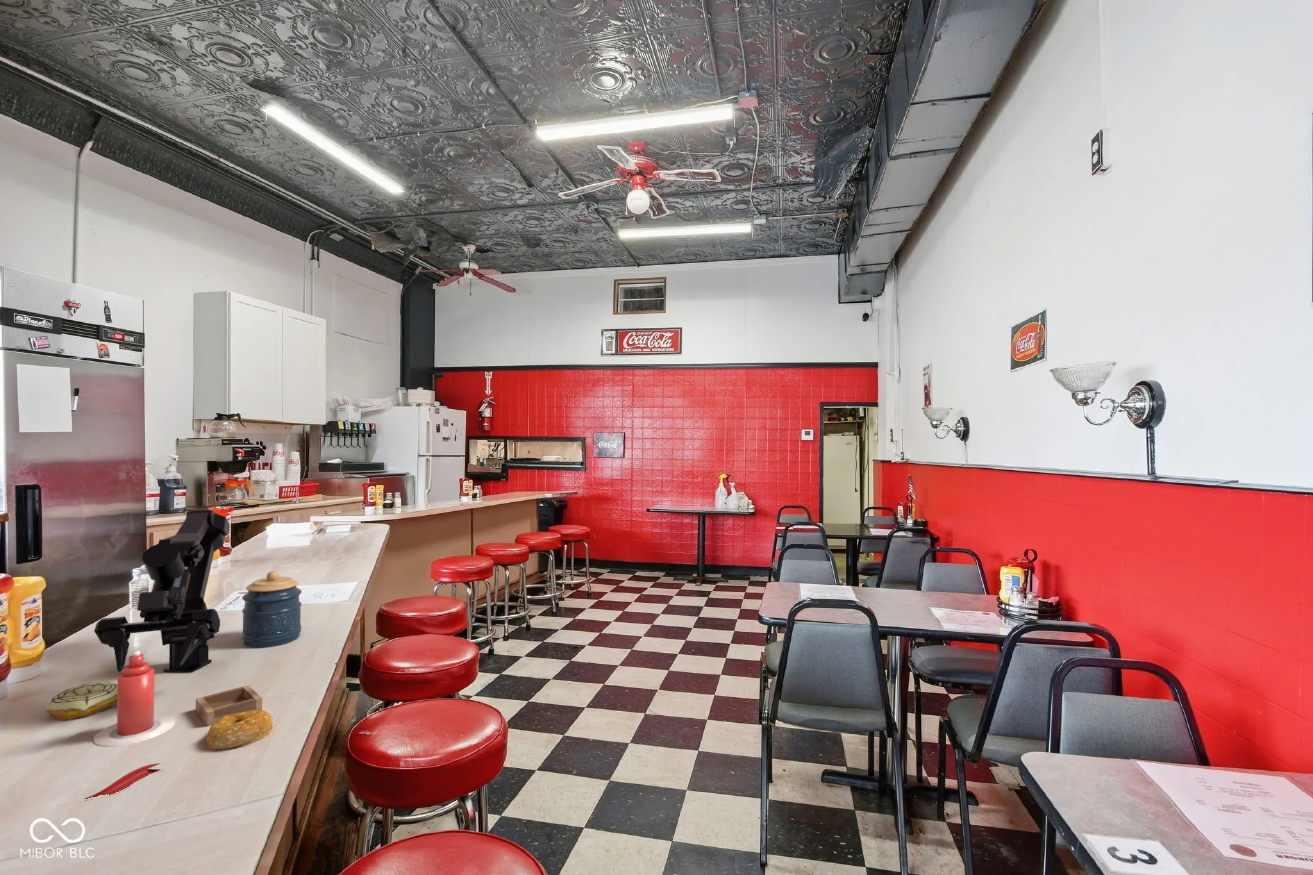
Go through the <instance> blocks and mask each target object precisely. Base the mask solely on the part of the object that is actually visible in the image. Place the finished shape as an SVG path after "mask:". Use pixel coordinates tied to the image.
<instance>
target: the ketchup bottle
mask: <svg viewBox="0 0 1313 875" xmlns="http://www.w3.org/2000/svg"><path fill="white" fill-rule="evenodd" d="M144 657H145V656H144V654H142V653H141V651H140V650H134V651H132V655H130V656H129V657H128V665H126V666H125V665H124V667H123V669H122V672H120V673H118V675H117V677H116V678H117V679H116V681H117V682H116V683H117V702H116V704H117V705H116V713H117V714H116V715H117V716H116V723H117V734H118V735H120V736H130V735H135V734H139V733H142V732H145V731H147V730H149V729H151V728H152V727H153V726H154V715H155V668H153V667H150V663H149V662H144Z"/></svg>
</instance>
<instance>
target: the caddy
mask: <svg viewBox="0 0 1313 875" xmlns="http://www.w3.org/2000/svg"><path fill="white" fill-rule="evenodd" d="M250 710H256V711H262V710H263V697H262V696H260V695H259V694H258V693H257V692H256V691H255V690H254V689H253V688H252V687H251V686H250V685H244V686H240V687H236V688H232V689H227V690H225V691H221V692H217V693H213V694H209V695H205V696H201V697H196V698H195V713H196V714H197V716H199V718H200V719H201V720H202V721H203V723H204V724H205V725H206V727H211V726H212V725H213V724H216V723H217V722H218V721H219V720H220V719H221V718H222V717H223V716H226V715H231V714H237V713H242V712H248V711H250Z"/></svg>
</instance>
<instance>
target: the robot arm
mask: <svg viewBox="0 0 1313 875" xmlns="http://www.w3.org/2000/svg"><path fill="white" fill-rule="evenodd" d="M229 534H230V522H229V520H228V518H227V517H226V516H224V515H222V514H219V513H216V512H215V510H213V509H211V508H204V509H191V510H188V511H187V512H186V515H185V519H184V520H183V522H182V524H181V525H180V527H179V529H178V530H177V532H176V533H175V535H171V536H168V537H165V538H164V539H159V540H158V543H156V544H154V545H152V546H150V547H149V548H147V549H146V550H145V551H144V552H143V553H142V556H141V560H142V563H143V565H144V566H145V569H146V571H147V573H148V575H149V578H150V579H151V580H152V581H154V582H153V586H152V588H151V591H148V592H147V591H145V592H140V593H139V595H138V601H137V609H136V610H137V612H138V611H140V612H139V617H140V619H143V621H137V622H129V621H128V619H127V618H126V616H116V617H115V616H114V617H103V618H101V619H100V620H99V621H98V622H96V624H95V628H94V630H93V631H94V633H95V635H96V637H97V639H99V641H100V643H101V644H103V645H107V646H108V647H109V648H113V650H114V657H115V663H116V670H117V671H118V673H123V668H124V667H125V664H126V660H127V656H128V652H129V648H130V641H128V640H129V639H130V638H131V634H139V633H149V632H157V631H158V632H160V636H161V643H162V644H161V645H162V646H167V645H168V647H169V650H168V652H169V653H168V654H169V656H168V657H169V658H168V659H169V660H168V662H169V664H168V667H165V668H164V669H163V672H164V673H192V672H194V671H197V670H198V669H200V668H202V667H205V666H207V665H208V664H211V663H212V661H213V660H212V659H210V658H209V650H210V649H209V644H208V641H210V640H211V639H215V634H218V633H219V632H220V628H221V627H220V626H221V619H220V616H219V613H218V611H217V610H216V609H215V608H208V607H207V604H206V602H205V600H204V599H205V596H206V591H207V586H208V582H209V577H210V572H211V568H212V564H213V559H214V554H215V552H217V550H219V549H220V548H221V547H222V546H223V545H224V544H225V542H226V541H225V540H226V538H227V536H229Z"/></svg>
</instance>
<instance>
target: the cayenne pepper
mask: <svg viewBox="0 0 1313 875" xmlns="http://www.w3.org/2000/svg"><path fill="white" fill-rule="evenodd" d="M161 764H162V763H161V762H160V763H159V762H158V763H150V764H147V765H144V766H140V767H138V768H136V769H134V770H132V771H130V772H128V773H126V774H124V775H123V776H121V777H120V778H118V779H117V780H115V781H114V782H112V783H111V784H109V785H108V786H107V787H105V788H104V789H102V790H100V791H98V792H97V793H95V794H92V795H90V796H88V797H85V798H84V799H88V798H91V797H97V796H99V795H106V794H107V795H108V794H109V795H111V794H114V793H116V792H119V791H121V790H123V789H125V788H126V789H128V788H129V787H131V786H132V785H134V784H135V783H136V781H137V782H138V781H140V780H142V779H144V778H146V777H147V776H149V774H150V775H152V774H154V773H155V772H156V773H157V772H159V771H160V770H161V769H159V768H158V769H155V768H154V769H153V767H155V766H159V765H161ZM139 779H140V780H139ZM134 782H135V783H134ZM133 783H134V784H133ZM131 784H132V785H131ZM130 785H131V786H130ZM127 787H128V788H127ZM126 789H125V790H126ZM123 791H124V790H123ZM121 792H122V791H121ZM119 793H120V792H119ZM114 795H115V794H114Z"/></svg>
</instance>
